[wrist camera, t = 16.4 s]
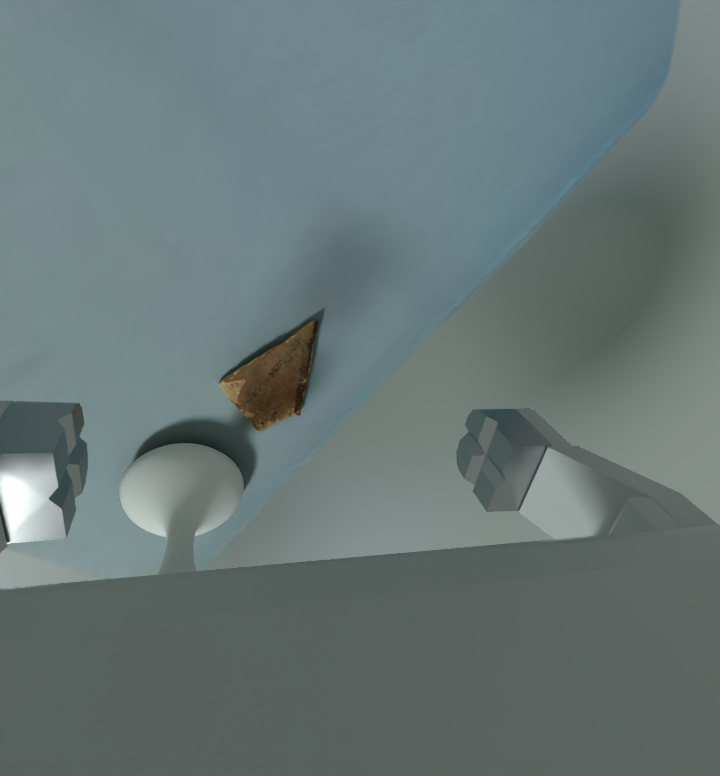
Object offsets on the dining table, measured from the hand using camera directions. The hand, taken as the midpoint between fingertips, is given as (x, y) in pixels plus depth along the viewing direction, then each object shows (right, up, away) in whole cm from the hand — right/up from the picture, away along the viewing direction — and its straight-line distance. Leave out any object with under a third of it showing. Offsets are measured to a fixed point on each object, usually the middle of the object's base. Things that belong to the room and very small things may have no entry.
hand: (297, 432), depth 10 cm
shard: (-8, +3, +34) cm, 35 cm away
